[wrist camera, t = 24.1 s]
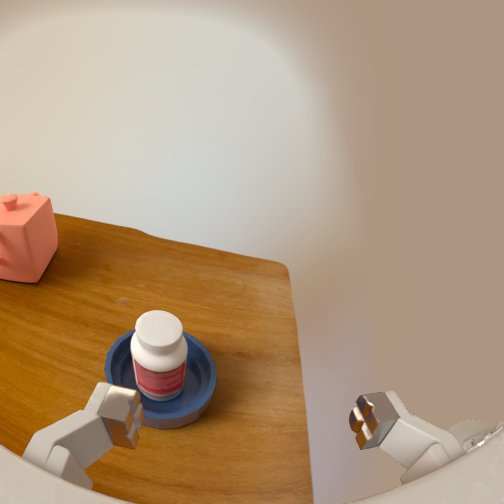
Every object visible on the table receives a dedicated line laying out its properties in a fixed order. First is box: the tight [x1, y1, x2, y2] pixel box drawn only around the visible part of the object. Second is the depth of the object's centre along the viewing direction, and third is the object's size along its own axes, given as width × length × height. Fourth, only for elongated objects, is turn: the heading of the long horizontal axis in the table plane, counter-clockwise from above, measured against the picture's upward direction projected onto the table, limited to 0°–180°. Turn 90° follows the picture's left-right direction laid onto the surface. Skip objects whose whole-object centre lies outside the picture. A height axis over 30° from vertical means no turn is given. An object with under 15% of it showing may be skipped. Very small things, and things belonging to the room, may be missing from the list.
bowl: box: [104, 329, 217, 429], centre depth 29 cm, size 13×14×4 cm
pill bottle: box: [131, 310, 188, 401], centre depth 27 cm, size 6×6×11 cm
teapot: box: [0, 192, 58, 283], centre depth 34 cm, size 20×22×14 cm
